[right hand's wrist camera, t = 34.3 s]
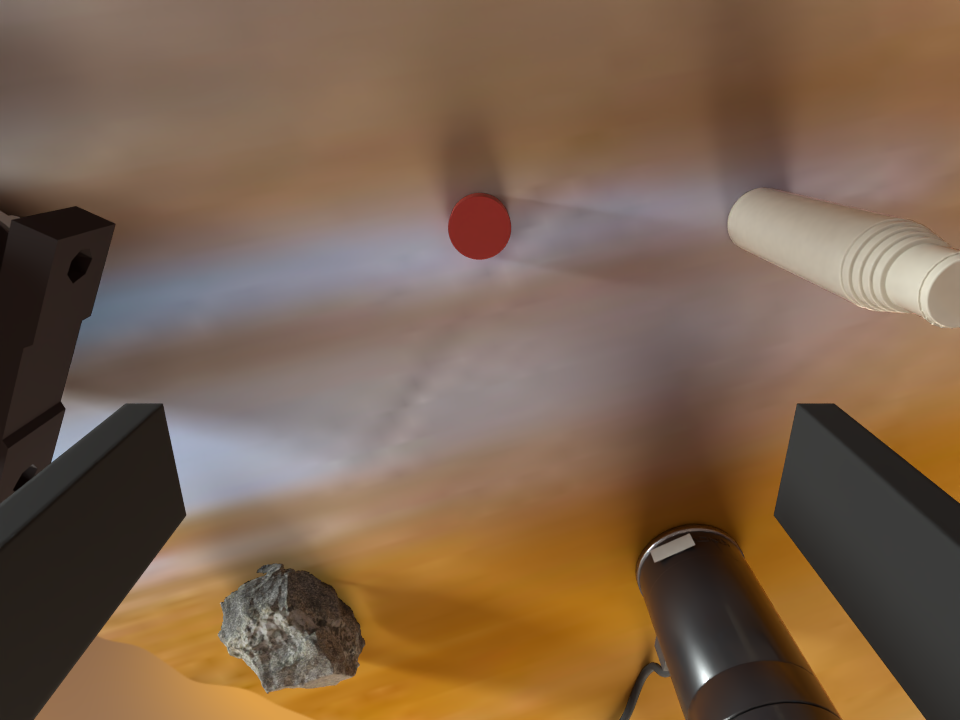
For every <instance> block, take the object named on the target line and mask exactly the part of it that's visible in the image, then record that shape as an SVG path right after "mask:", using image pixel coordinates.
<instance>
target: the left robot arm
mask: <svg viewBox="0 0 960 720" xmlns="http://www.w3.org/2000/svg"><path fill="white" fill-rule="evenodd" d="M636 579H637V583H638V586H639V589H640V591H641V594H642V595H643V597H644V600H645V603H646V606H647V609H648V611H649V615H650V618H651V621H652V624H653V627H654V629H655V632H656V641H655V648H656V651H657V654H658V657H659V660H660V663H661V666H660V665H659V664H658V663H654V662H651V663H649V664H648V665H647V666H645V667H644V668H643V669H642V671H641V673H640V674H639V676H638V678H637V680H636V683H635V685H634V687H633V690H632V692H631V695H630V698H629V700H628V703H627V706H626V708H625V710H624V712H623V714H622V716H621V718H620V720H629V719H630V717H631V715H632V712H633V710H634V708H635V705H636V702H637V700H638V697H639V694H640V691H641V689H642V686H643V684H644V682H645V680H646V679H647V677H648V676H649V675H650V674H651V673H652V672H653V671H655V672H656V673H657V674H658V675H660V676H662V677H669V676H671V679H672V682H673V685H674V688H675V691H676V693H677V696H678V699H679V702H680V705H681V708H682V711H683V714H684V717H685V720H842V718H841V716H840V715H839V713H838V712H837V710H836V708H835V707H834V705H833V703H832V702H831V700H830V698H829V697H828V695H827V693H826V692H825V690H824V688H823V687H822V685H821V684H820V682H819V681H818V679H817V677H816V676H815V674H814V672H813V671H812V669H811V667H810V666H809V664H808V662H807V661H806V659H805V657H804V656H803V654H802V652H801V651H800V649H799V648H798V646H797V644H796V643H795V641H794V639H793V638H792V636H791V634H790V633H789V631H788V629H787V628H786V626H785V624H784V623H783V621H782V619H781V618H780V616H779V615H778V613H777V611H776V610H775V608H774V606H773V605H772V603H771V601H770V600H769V598H768V596H767V595H766V593H765V591H764V590H763V588H762V586H761V585H760V583H759V581H758V580H757V578H756V576H755V575H754V573H753V571H752V570H751V568H750V567H749V565H748V563H747V562H746V560H745V558H744V555H743V553H742V551H741V549H740V548H739V546H738V544H737V543H736V542H735V540H734V539H733V538H732V537H731V536H730V535H728V534H727V533H725V532H724V531H722V530H720V529H718V528H715V527H711V526H707V525H698V524H696V525H684V526H679V527H676V528H673V529H670V530H668V531H666V532H664V533H662V534H660V535H659V536H657V537H656V538H654V539H653V540H652V541H651V542H650V543H649V544H648V545H647V546H646V547H645V548H644V550H643V551H642V553H641V555H640V557H639V559H638V562H637V566H636Z"/></svg>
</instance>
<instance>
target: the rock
mask: <svg viewBox="0 0 960 720" xmlns="http://www.w3.org/2000/svg"><path fill="white" fill-rule="evenodd" d="M283 568H284V566H283V564H272V565H268V564H267V565H264V566H262V567H261V568H259V569H258V571H257V573H259V572H260V573H262V572H263V573H266V572H267V574H266V575H265V576H262V577H258V578H256V579H253V580H251V581H248V582H246V583H244V584H243V585H241V586H240V587H239V588H238V591H235V592H232V593H231V595H229V596H228V597H226V598H225V600H224V602H221V607H222V610H223V614H224V616H223V622H222V623H223V624H222V626H221V631H219V633H218V636H219V638H220V641H221V642H223V643H224V644H225V646H226V647H227V650H228V653H229V654H230V655H231V656H234V657H236V658H242V659H243V660H244V661H245V663H246V664H247V665H248V666H250V668H251V669H252V670H253V671H254V672H255V673H256V674H257V675H258V677H259V679H260V681H261V683H262V686H263V688H264V689H265V691H266V692H267V694H268V692H271V691H277V690H281V689H284V688H317V687H324V686H329V685H337V684H338V683H339V682H340V681H342V680H345V679H348V678H351V677H353V676H355V674H356V671H357V668H358V666H359V665H360V664H359V663H358V662H357V661H358V657H359V654H360V653H361V652H362V649H363V647H364V646H365V640H364V638H362V636H361V630H360V624H359V623H358V622H357V621H356V619H355V617H354V614H353V611H352V610H351V608H350V607H349V606H347V605H346V604H345V603H343V602H342V600H341V599H339V598H338V597H337V594H336V592H335V589H334V588H333V587H332V586H330V585H328V584H326V583H324V582H321V581H320V580H319V579H317V578H316V577H315V576H313V575H312V574H309V572H307V571H297V572H295V570H294V569H291V568H290V569H287V570H285V569H283Z"/></svg>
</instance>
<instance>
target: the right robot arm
mask: <svg viewBox="0 0 960 720" xmlns="http://www.w3.org/2000/svg"><path fill="white" fill-rule="evenodd" d="M185 516H186V512H185V507H184V502H183V497H182V493H181V488H180V483H179V478H178V474H177V469H176V464H175V459H174V455H173V450H172V445H171V440H170V435H169V431H168V426H167V421H166V416H165V412H164V407H163V404H125V405H123V406H122V407H121V408H120V409H118V410H117V411H116V412H115V413H113V414H112V415H111V416H110V417H108V418H107V419H106V420H105V421H103V422H102V423H101V424H100V425H98V426H97V427H96V428H95V429H93V430H92V431H91V432H90V433H88V434H87V435H86V436H85V437H83V438H82V439H81V440H79V441H78V442H77V443H76V444H74V445H73V446H72V447H71V448H69V449H68V450H67V451H66V452H64V453H63V454H62V455H61V456H59V457H58V458H57V459H56V460H54V461H53V462H52V463H51V464H49V465H48V466H47V467H46V468H44V469H43V470H42V471H41V472H39V473H38V474H37V475H36V476H34V477H33V478H32V479H30V480H29V481H28V482H27V483H25V484H24V485H23V486H22V487H20V488H19V489H18V490H17V491H15V492H14V493H13V494H12V495H10V496H9V497H8V498H7V499H5V500H4V501H3V502H2V503H0V720H34V719H35V717H36V716H37V715H38V713H39V712H40V711H41V709H42V708H43V707H44V705H45V704H46V703H47V701H48V700H49V699H50V697H51V696H52V695H53V693H54V692H55V691H56V689H57V688H58V687H59V685H60V684H61V683H62V681H63V680H64V678H65V677H66V676H67V674H68V673H69V672H70V670H71V669H72V668H73V666H74V665H75V664H76V662H77V661H78V660H79V658H80V657H81V656H82V654H83V653H84V652H85V650H86V649H87V648H88V646H89V645H90V644H91V642H92V641H93V640H94V638H95V637H96V636H97V634H98V633H99V632H100V630H101V629H102V628H103V626H104V625H105V624H106V622H107V621H108V620H109V618H110V617H111V615H112V614H113V613H114V611H115V610H116V609H117V607H118V606H119V605H120V603H121V602H122V601H123V599H124V598H125V597H126V595H127V594H128V593H129V591H130V590H131V589H132V587H133V586H134V585H135V583H136V582H137V581H138V579H139V578H140V577H141V575H142V574H143V573H144V571H145V570H146V569H147V567H148V566H149V565H150V563H151V562H152V561H153V559H154V558H155V557H156V555H157V554H158V553H159V551H160V550H161V548H162V547H163V546H164V544H165V543H166V542H167V540H168V539H169V538H170V536H171V535H172V534H173V532H174V531H175V530H176V528H177V527H178V526H179V524H180V523H181V522H182V520H183V519H184V518H185ZM774 516H775V518H776V519H777V520H778V522H779V523H780V524H781V526H782V527H783V528H784V530H785V531H786V532H787V534H788V535H789V536H790V538H791V539H792V540H793V542H794V543H795V544H796V546H797V547H798V548H799V550H800V551H801V553H802V554H803V555H804V557H805V558H806V559H807V561H808V562H809V563H810V565H811V566H812V567H813V569H814V570H815V571H816V573H817V574H818V575H819V577H820V578H821V579H822V581H823V582H824V583H825V585H826V586H827V587H828V589H829V590H830V591H831V593H832V594H833V595H834V597H835V598H836V599H837V601H838V602H839V603H840V605H841V606H842V607H843V609H844V610H845V611H846V613H847V614H848V615H849V617H850V618H851V620H852V621H853V622H854V624H855V625H856V626H857V628H858V629H859V630H860V632H861V633H862V634H863V636H864V637H865V638H866V640H867V641H868V642H869V644H870V645H871V646H872V648H873V649H874V650H875V652H876V653H877V654H878V656H879V657H880V658H881V660H882V661H883V662H884V664H885V665H886V666H887V668H888V669H889V670H890V672H891V673H892V674H893V676H894V677H895V678H896V680H897V681H898V683H899V684H900V685H901V687H902V688H903V689H904V691H905V692H906V693H907V695H908V696H909V697H910V699H911V700H912V701H913V703H914V704H915V705H916V707H917V708H918V709H919V711H920V712H921V713H922V715H923V716H924V717H925V719H926V720H960V503H958V502H957V501H956V500H955V499H953V498H952V497H951V496H950V495H948V494H947V493H946V492H945V491H943V490H942V489H941V488H940V487H938V486H937V485H936V484H935V483H933V482H932V481H931V480H930V479H928V478H927V477H926V476H924V475H923V474H922V473H921V472H919V471H918V470H917V469H916V468H914V467H913V466H912V465H911V464H909V463H908V462H907V461H906V460H904V459H903V458H902V457H901V456H899V455H898V454H897V453H896V452H894V451H893V450H892V449H891V448H889V447H888V446H887V445H886V444H884V443H883V442H882V441H881V440H879V439H878V438H877V437H875V436H874V435H873V434H872V433H870V432H869V431H868V430H867V429H865V428H864V427H863V426H862V425H860V424H859V423H858V422H857V421H855V420H854V419H853V418H852V417H850V416H849V415H848V414H847V413H845V412H844V411H843V410H842V409H840V408H839V407H838V406H837V405H835V404H797V407H796V412H795V416H794V421H793V426H792V431H791V435H790V440H789V445H788V450H787V455H786V459H785V464H784V469H783V474H782V478H781V483H780V488H779V493H778V497H777V502H776V507H775V512H774Z"/></svg>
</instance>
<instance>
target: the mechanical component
mask: <svg viewBox="0 0 960 720" xmlns="http://www.w3.org/2000/svg"><path fill="white" fill-rule="evenodd" d="M114 228H115V224H114V223H112V222H110V221H108V220H106V219H103V218H101V217H99V216H97V215H94V214H92V213H90V212H88V211H86V210H83V209H81V208H79V207H77V206H75V207H70V208H65V209H61V210H56V211H51V212H46V213H41V214H37V215H32V216H27V217H22V218H19V217H17V216H13V215H10V216H8V215H6V214H5V213H3V212H1V211H0V503H2V502H3V501H4V500H5V499H7V498H8V497H9V496H10V495H12V494H13V493H14V492H15V491H17V490H18V489H19V488H20V487H22V486H23V485H24V484H25V483H27V482H28V481H29V480H30V479H32V478H33V477H34V476H36V475H37V474H38V473H39V472H41V471H42V470H43V469H44V468H46V467H47V466H48V465H49V464H51V461H52V457H53V454H54V450H55V446H56V442H57V439H58V435H59V431H60V428H61V424H62V420H63V417H64V413H65V407H64V406H63V404H62V403H61V398H62V394H63V390H64V387H65V383H66V379H67V375H68V371H69V368H70V364H71V360H72V356H73V353H74V349H75V345H76V341H77V338H78V334H79V330H80V326H81V322H82V320H84V319H86V318H88V317H90V316H91V313H92V309H93V305H94V302H95V298H96V294H97V291H98V287H99V283H100V279H101V276H102V272H103V268H104V265H105V261H106V257H107V254H108V250H109V246H110V242H111V239H112V235H113V231H114Z"/></svg>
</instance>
